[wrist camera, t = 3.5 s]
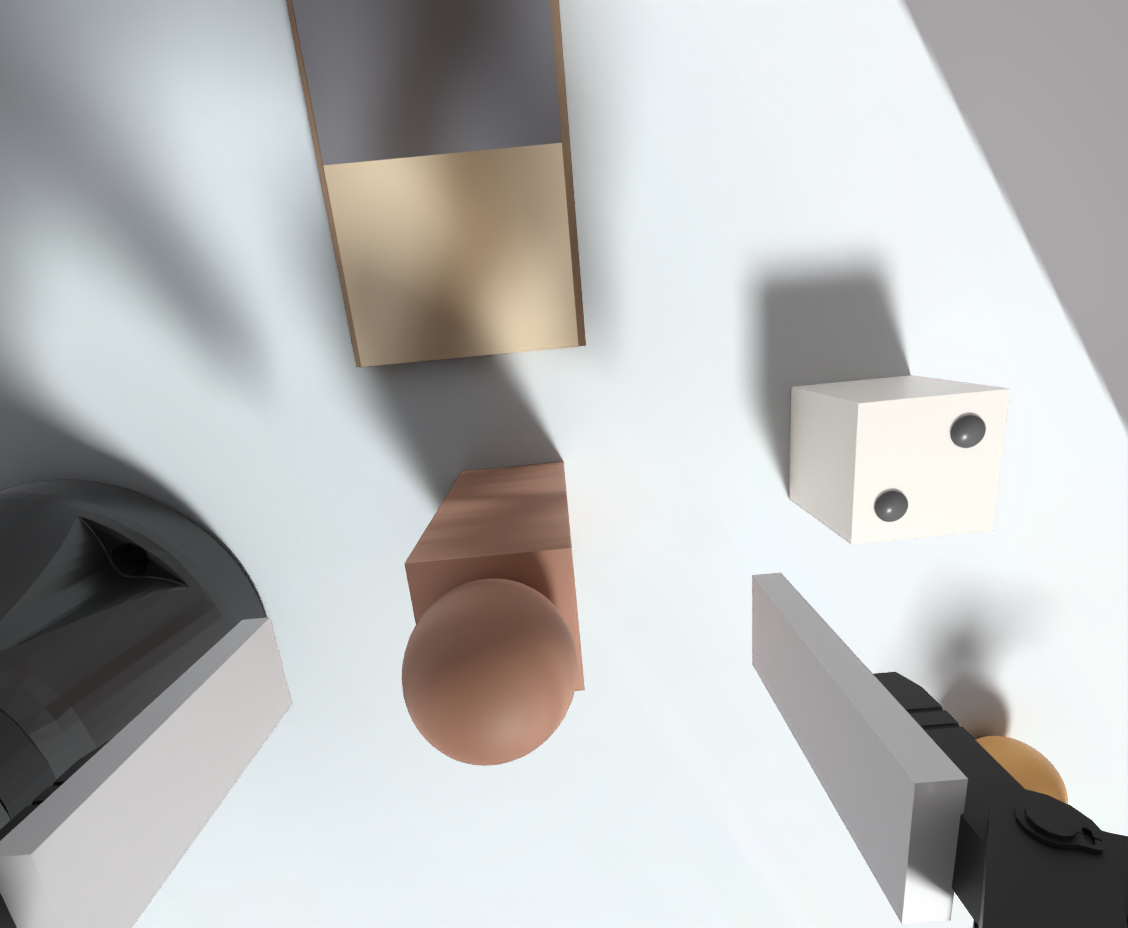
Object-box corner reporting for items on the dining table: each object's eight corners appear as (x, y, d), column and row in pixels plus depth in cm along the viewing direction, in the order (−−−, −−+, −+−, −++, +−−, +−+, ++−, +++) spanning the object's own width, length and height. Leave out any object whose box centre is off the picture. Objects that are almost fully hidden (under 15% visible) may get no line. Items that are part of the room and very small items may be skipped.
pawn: (475, 564, 24) (392, 824, 11) (461, 471, 22) (352, 647, 10) (572, 555, 24) (595, 805, 11) (563, 461, 22) (577, 626, 10)
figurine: (1037, 681, 26) (1432, 971, 14) (1081, 760, 27) (1476, 1085, 16) (887, 764, 27) (1141, 1096, 15) (937, 836, 28) (1206, 1192, 17)
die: (788, 498, 23) (852, 545, 18) (790, 386, 22) (860, 403, 17) (900, 488, 23) (995, 531, 18) (909, 374, 22) (1013, 389, 17)
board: (363, 365, 21) (353, 367, 20) (231, -338, 16) (207, -386, 15) (584, 344, 21) (586, 345, 20) (528, -367, 16) (526, -417, 15)
